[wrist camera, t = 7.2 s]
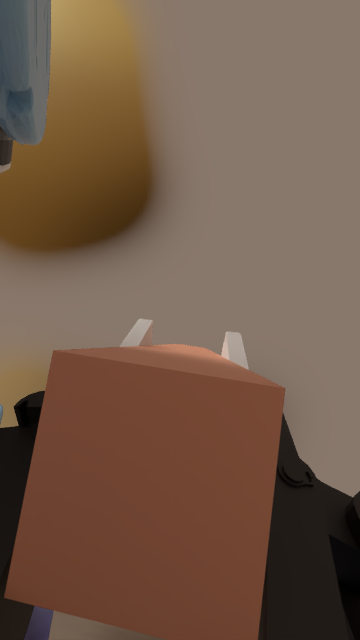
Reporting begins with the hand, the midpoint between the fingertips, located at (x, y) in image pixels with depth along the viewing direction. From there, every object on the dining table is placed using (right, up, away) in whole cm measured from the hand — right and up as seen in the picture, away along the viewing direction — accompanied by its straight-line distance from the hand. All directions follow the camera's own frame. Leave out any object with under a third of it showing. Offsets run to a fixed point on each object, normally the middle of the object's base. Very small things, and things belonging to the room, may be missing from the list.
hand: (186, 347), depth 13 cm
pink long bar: (0, -5, +6) cm, 7 cm away
